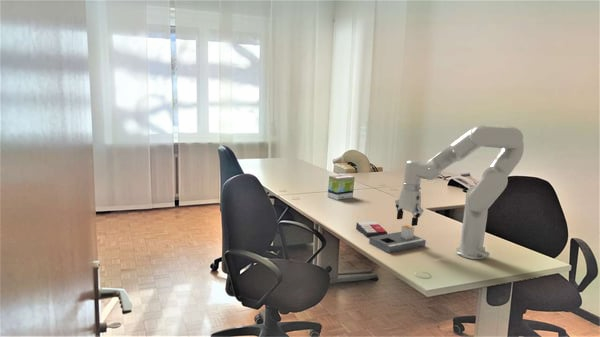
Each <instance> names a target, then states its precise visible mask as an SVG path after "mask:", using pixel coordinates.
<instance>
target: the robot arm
mask: <svg viewBox="0 0 600 337" xmlns="http://www.w3.org/2000/svg"><path fill="white" fill-rule="evenodd" d="M481 147H484V148H492V149H493V148H496V149H500V151H499V153H497V155H496V157H495V158H494V159H493V161H492V162H491V163H490V164H489V165H488V166H487V168H486V169H485V170H484V171H483V172H482V176H481V179H480V180H479V182H478V183H477V184H476V185H473V186H471V187H469V188H468V189H467V191H466V193H465V200H464V210H463V220H462V226H461V228H462V229H461V235H460V243H459V244H460V245H459V247H457V248H456V249H455V252H456V254H457V255H458V256H460V257H463V258H466V259H469V260H484V259H485V258H486V259H488V258H489V257H490V252H489V251H486V247H485V246H484V242H485V235H486V227H487V222H488V220H487V219H488V212H489V210H488V209H489V208H490V207H491V206H492V205H493V204H494V203H495V201H496V200H497V199H498V198H499V197H500V195H501V194H502V193H503V192H504V191H505V189H507V186H508V183H509V182H508V181H509V179H508V177H509V176H510V175H511V173H512V172H513V170H515V169H516V167H517V165H518V164H519V163H520V161H521V159H522V158H523V154H524V151H525V150H524V149H525V148H524V147H525V146H524V135H523V133H522V131H521V129H519V128H517V127H515V126H511V125H508V126H504V127H501V126H500V127H499V126H486V125H484V124H477V125H475V126H473V127H471V129H469V130H468V131H467V132H465V133H464V134H463V135H461V136H460V137H459V138H457V139H455V141H453V142H452V143H450V144H449V145H447V147H445V148H444V149H442V150H441V151H440V152H439V153H437V154H436V155H435V156H433V157H432V158H430V159H428V161H427V162H426V163H425V162H422V161H420V160H414V159H409V160H407V161H406V162H405V167H404V175H403V176H404V177H403V183H402V188H401V190H400V195H399V199H395V201H394V203H395V207H396V211H397V212H396V214H397V215H396V219H397V220H403V219H404V211H406V212H409V213H411V215H412V218H411V225H410V226H411V227H415V226H418V222H419V218H420V217H421V216H422V215H423V213H424V209H423V208H422V207H421V206H422V205H421V204H422V202H421V201H422V193H421V181H422V179H424V180H427V181H428V180H429V181H433V180H436V179H437V178H439V175H440V173H441V172H443V171H444V170H446V169H447V168H449V167H450V166H451V165H453V164H454V163H458V162H460V161H463V160H465V159H466V158H468V156H470V155H471V154H473V153H474V152H475V151H476V150H478V149H480V148H481Z"/></svg>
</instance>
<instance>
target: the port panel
mask: <svg viewBox="0 0 600 337" xmlns="http://www.w3.org/2000/svg"><path fill="white" fill-rule="evenodd" d="M368 240H369V241H368V243H369V245H372V246H373V247H376V249H379V250H382V251H384V252H385V253H388V254H389V255H391V254H394V253H395V254H396V253H400V252H405V251H411V250H414V249H419V248H424V247H426V242H427V241H426V239H424V238H421V237H420V236H416V235H413V239H408V240H407V239H404V238H402V237H401V231H398V232H392V233H388V234H385V235H379V236H373V237H368Z"/></svg>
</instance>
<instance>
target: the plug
mask: <svg viewBox="0 0 600 337" xmlns="http://www.w3.org/2000/svg"><path fill="white" fill-rule="evenodd" d="M400 232H401V237H402V238H404V239H407V240H408V239H413V235H414V233H415V226H412V225H408V224H406V225H402V226H401V230H400ZM414 236H415V235H414Z"/></svg>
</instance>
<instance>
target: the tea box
mask: <svg viewBox="0 0 600 337" xmlns="http://www.w3.org/2000/svg"><path fill="white" fill-rule="evenodd" d="M354 187H355V176H353V175H350V174H343V173H342V174H335V175H333V174H332V175H329V177H328V187H327V198H330V199H332V200H333V199H334V200H336V201H339V200H344V199H352V198H354V189H355V188H354Z"/></svg>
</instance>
